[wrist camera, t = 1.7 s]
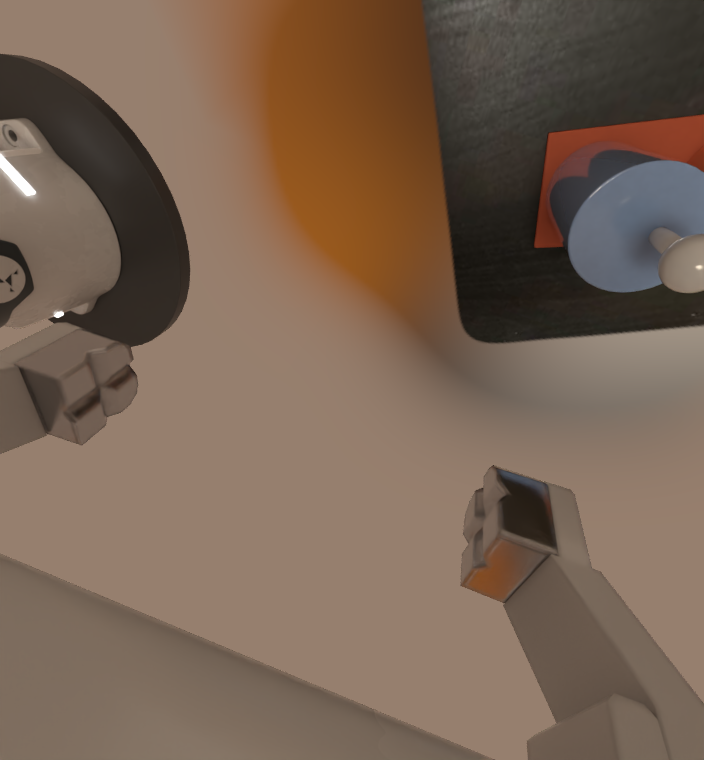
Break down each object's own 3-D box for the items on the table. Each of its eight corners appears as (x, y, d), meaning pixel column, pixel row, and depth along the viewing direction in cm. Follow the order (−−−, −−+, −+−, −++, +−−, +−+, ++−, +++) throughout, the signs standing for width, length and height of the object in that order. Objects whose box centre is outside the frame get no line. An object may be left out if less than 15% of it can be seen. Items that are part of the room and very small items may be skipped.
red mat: (533, 245, 28) (534, 248, 27) (548, 132, 24) (548, 133, 24) (768, 236, 24) (773, 238, 24) (828, 99, 20) (835, 99, 20)
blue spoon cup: (532, 226, 27) (560, 320, 15) (568, 133, 24) (637, 163, 12) (616, 243, 26) (713, 355, 14) (665, 149, 23) (841, 197, 11)
